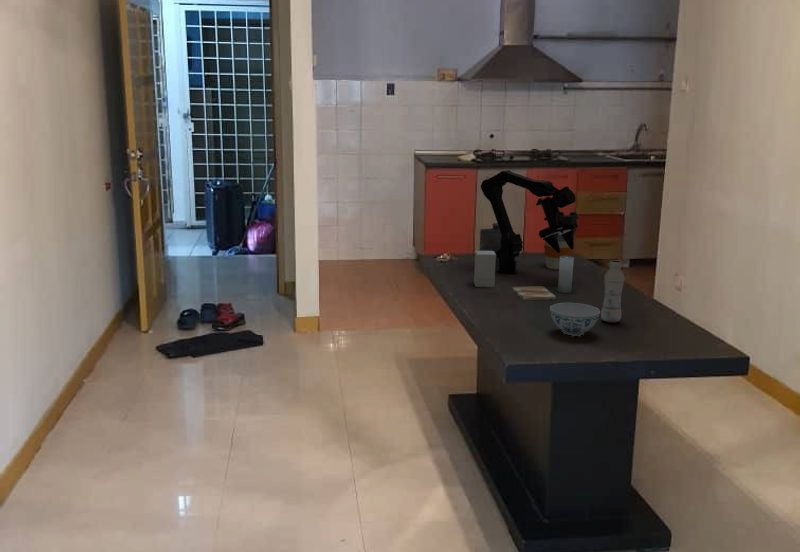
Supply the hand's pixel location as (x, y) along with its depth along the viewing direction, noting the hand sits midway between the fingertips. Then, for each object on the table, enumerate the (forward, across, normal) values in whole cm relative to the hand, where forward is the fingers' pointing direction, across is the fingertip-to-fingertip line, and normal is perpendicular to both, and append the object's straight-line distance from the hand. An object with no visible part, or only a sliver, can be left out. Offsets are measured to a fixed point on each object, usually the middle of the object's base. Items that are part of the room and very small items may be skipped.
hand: (566, 250), depth 298 cm
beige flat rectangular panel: (+12, -21, +5) cm, 25 cm away
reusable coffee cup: (+4, +23, +22) cm, 32 cm away
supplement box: (+2, -23, +24) cm, 34 cm away
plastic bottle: (+29, -31, -27) cm, 50 cm away
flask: (-5, +5, +39) cm, 40 cm away
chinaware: (+28, -50, -25) cm, 63 cm away
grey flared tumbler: (+14, -9, +1) cm, 17 cm away
